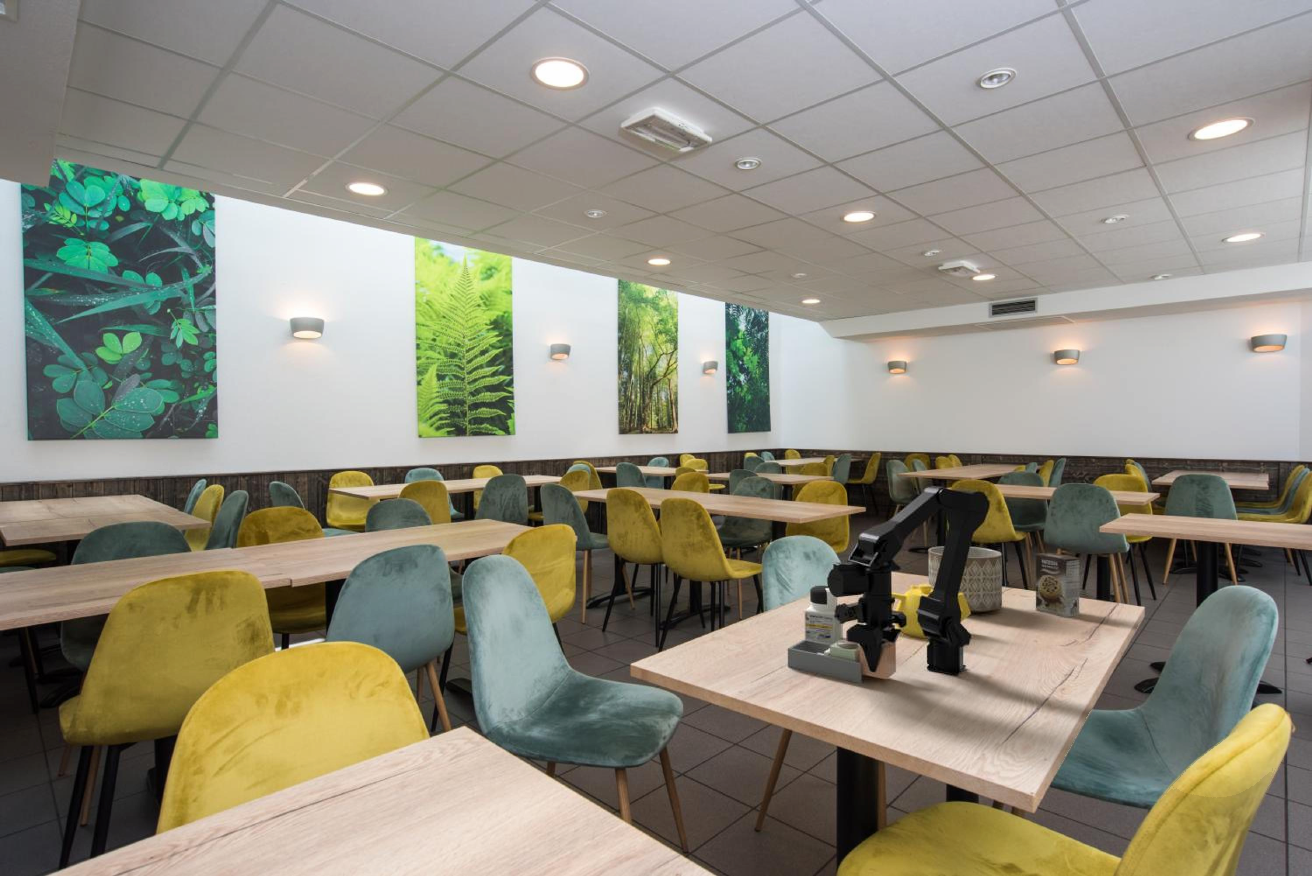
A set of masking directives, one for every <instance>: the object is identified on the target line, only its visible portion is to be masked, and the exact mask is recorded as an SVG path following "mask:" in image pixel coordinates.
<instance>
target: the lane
mask: <svg viewBox="0 0 1312 876" xmlns="http://www.w3.org/2000/svg"><path fill="white" fill-rule="evenodd" d="M830 646H831V644H825V643H820V642H815V641H810V640H805V638H804V639H803V640H801V641H799V642H797V643H796V644H793V645H791V646H790V647H788V648H787V667H789V668H793V669H796V670H801V671H805V672H810V673H814V674H818V675H823V676H827V677H832V678H836V679H841V680H845V681H849V682H854V683H858V684H862V683H863V674H862V663H859V662H854V661H850V660H845V659H840V658H835V657H831V656H826V655H821V654H817V653H822V654H824V652H825V651H826V650H828V649H830Z"/></svg>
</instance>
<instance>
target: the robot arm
mask: <svg viewBox="0 0 1312 876" xmlns="http://www.w3.org/2000/svg"><path fill="white" fill-rule="evenodd" d="M990 505H991V501H990V499H989V498H988V496H987V495H986V494H985V493H984V492H983V491H978V490H972V489H971V490H969V489H959V488H957V489H950V488H947V487H944V486H934V485H931V486H928V487H926V488H925V489H924V490H923V492H922V493H921V494H920V495H918V496H917V497H916V498H915V499H913V500H912V501H911V502H910V503H909V504H908V505H906V506H905V507H904V508H903V509H902V510H900V511H899V512H898V513H896V514H895V515H894V516H893V517H891V518H890V519H889V520H888V521H885V522H882V523H880V524H877V525H874V526H872V527H870V528H868V529H866V530H864V531H863V532H862V533H860V535H859V536H858V537H857V543H856V544H855V546H854V548H853V550H852V551H851V553H850V555H849V556H848V558H847V559H846V562H838V561H837V562H833V565H832V566H833V567H832V569H830V571H829V572H828V576H827V577H826V578H827V579H826V583H827V586H828V588H829V590H830V592H831V594H832V595H833V596H834V597H837V598H843V597H853V596H854V597H855V596H860V595H862V596H861V597H859V598H858V599H857V602H853V603H852V602H851V603H848V604H847V603H846V602H845V603H841V604H840V603H838V604H837V606H836V609H835V610H834V611H835V614H834V617H835V618H837V620H839V622H840V624H843V625H844V624H845V623H848V622H852V621H857V623H856V624H854V625H852V626H850V627H849V628H848V629H847V630H846V631H845V632H846V636H845V637H846V638H845V639H846V640H847V641H849V642H854V643H858V644H859V645H860V646H861V647H862V649H863V651H864V654H865V657H866V660H867V663H868V667H869V670H870V671H871V672H876V669H877V667H878V664H879V661H880V658H881V655H882V652H883V649H884V646H885V643H886V641H883V640H882V639H886V640H888V641H889V642H893V643H896V644H897V640H898V638H899V636H900V635H901V633H902V630H901V629H899V628H896V624H899V627H900V628H903V627H905V626H906V625H907V617H906V615H905V614H904V613H903V612H900V611H896V610H894V609H893V610H892V604H893V603H894V604H895V603H896V599H895V597H892V592H893V587H892V583H893V582H892V581H893V580H892V572H897V571H901V569H902V568H901V566H900V565H898V564H897V562H895V561H894V558H895V557H897V555H898V553H899V552H900V551H901V550H902V549H903V547H904V543H905V541H906V540H907V538H908V537H909V536H910V535H911V534H912V533H913V532H915V531H916V530H917V529H918V528H920V526H922V525H923V524H924V523H925V522H926V521H928V520H929V519H930V518H932V517H933V516H934V515H935V514H936V513H937V512H939V511H940V510H942V508H945V518H946V520H947V524H948V529H947V534H946V538H945V542H944V550H943V554H942V558H941V562H940V566H939V570H938V574H937V578H936V582H935V586H934V589H933V591H932V592H931V593H930V594H929V595H928V596H927V597H926V596H923V595H922V596H921V598H920V603H919V607H918V610H917V611H916V613H917V614H918V617H917V621H918V622H919V625H920V627H921V628H922V631H923V634H924V636H926V637H929V638H930V639H929V638H928V641H929V642H928V644H927V645H926V664H927V666H926V669H927V670H928V671H933V672H934V671H935V672H937V673H938V672H939V673H944V674H948V675H954V676H960V674H962V672H963V671H964V670H965V669H966V666H967V665H966V664H964V647H965V646H969V645H970V644H971V643H970V642H971V639H972V634H971V633H970V632H969V631H968V629H967V628H965V626H964V625H963V624H962V622H961V615H962V611H961V608H960V604H959V601H958V594H959V590H960V586H961V582H962V578H963V573H964V569H965V565H966V561H967V557H968V553H969V549H970V547H971V545H972V541H973V537H974V534H975V532H976V531H977V530H978V529H979V528H980V527H981V526H982V525H983V524H984V523H985V521H986V519H987V515H988V513H989V511H990V507H991V506H990ZM894 624H895V625H894Z"/></svg>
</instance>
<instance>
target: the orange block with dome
mask: <svg viewBox="0 0 1312 876" xmlns="http://www.w3.org/2000/svg"><path fill="white" fill-rule="evenodd" d="M882 640H883V641H886V643H885V646H884V649H883V652H882V655H881V658H880V661H879V664H878V667H877V669H876V672H871V671H870V670H869V667H868V663H867V660H866V657H865V654H864V651H863V649H862V647H861V646H860V663H862V675H864V676H869V677H874V678H878V679H883V680H888V679H889V678H890V677H891V676H893V675H894V674H895V673H896V672H897V663H896V662H897V650H896V649H897V647H896V646H897V642H896V643H893V642H889V641H888V640H886V639H882Z"/></svg>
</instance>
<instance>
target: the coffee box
mask: <svg viewBox="0 0 1312 876" xmlns="http://www.w3.org/2000/svg"><path fill="white" fill-rule="evenodd" d="M1080 561H1081V558H1080V557H1076V556H1071V555H1064V554H1058V553H1053V552H1044V553H1043V552H1040V553H1036V554H1035V610H1036V611H1040V612H1043V613H1046V614H1051V615H1055V616H1059V617H1061V618H1062V617H1063V618H1071V617H1076V616H1080Z"/></svg>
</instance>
